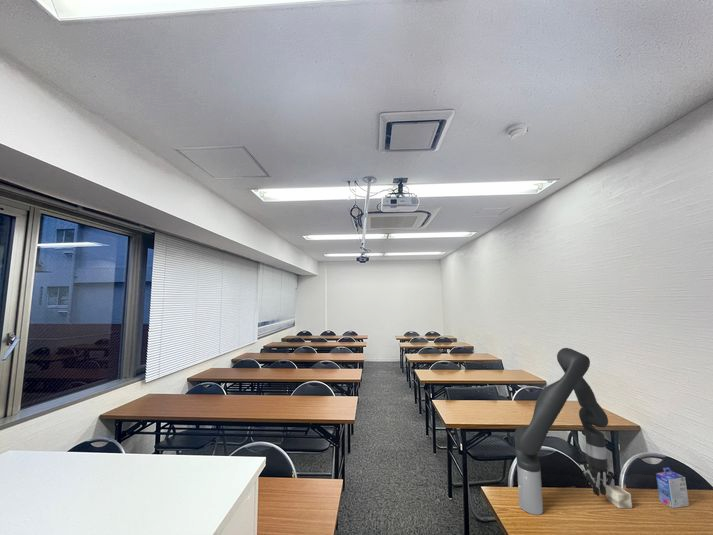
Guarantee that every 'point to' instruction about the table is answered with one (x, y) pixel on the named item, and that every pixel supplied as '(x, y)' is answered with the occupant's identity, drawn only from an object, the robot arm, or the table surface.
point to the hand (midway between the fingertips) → (599, 494)
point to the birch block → (619, 497)
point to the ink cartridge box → (672, 489)
